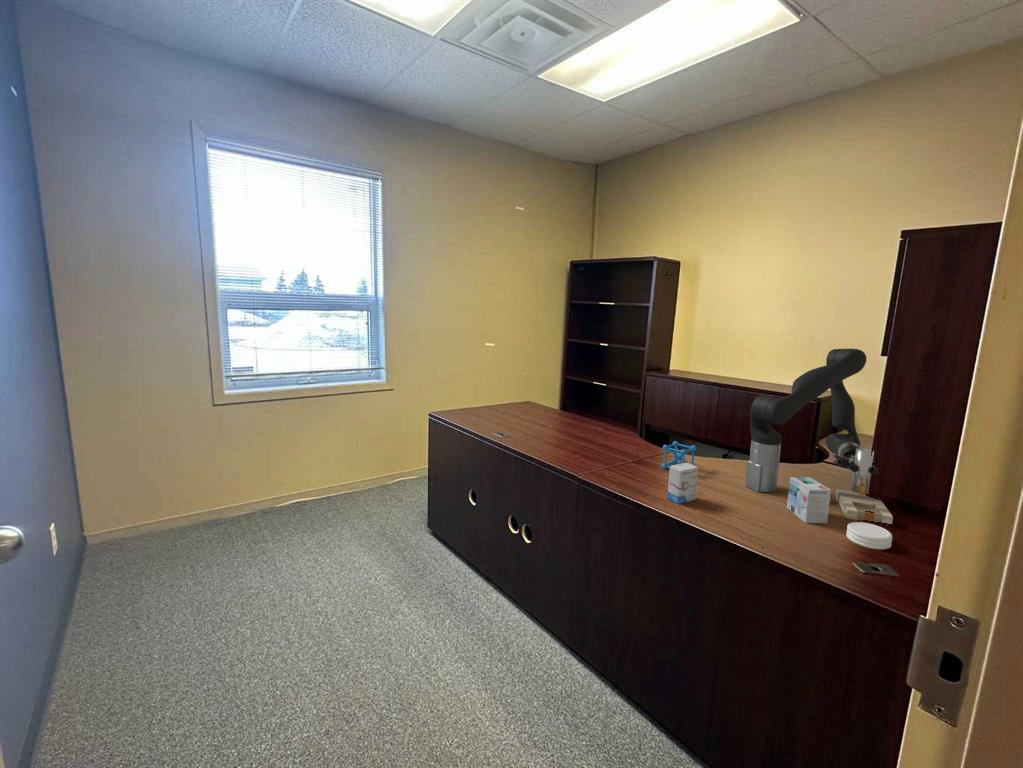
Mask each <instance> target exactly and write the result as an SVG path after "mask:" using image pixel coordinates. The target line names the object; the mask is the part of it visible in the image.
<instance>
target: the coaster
mask: <svg viewBox="0 0 1023 768" xmlns="http://www.w3.org/2000/svg"><path fill="white" fill-rule="evenodd" d="M846 527H847V529H846V534H845V535H846V538H847V539H848V540H849V541H850V542H852V543H854V544H856V545H858V544H859V545H858V546H862V547H864V548H868V549H873V550H887V549H890V548H891V547H892V542H893V534H892V533H891V532H890V531H889V530H887V529H885V528H884V527H881V526H879V525H878V524H874V523H870V522H863V521H856V522H855V521H854V522H850V523H848V524H847V526H846Z"/></svg>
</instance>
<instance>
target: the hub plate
mask: <svg viewBox="0 0 1023 768" xmlns="http://www.w3.org/2000/svg"><path fill="white" fill-rule="evenodd" d="M835 490H836V491H835V499H836V502H837V503H838V505H839V507H840V508H842V509H841V511H842V510H843V511H842V513H843V512H844V513H843V515H844V516H845V518H846V517H847V518H851V519H852V518H853V519H862V520H868V521H874V522H881V523H887V524H892V525H893V520H894V516H893V515H892V513H891V512H890V510H889V509H888V508H887V506H886V505H885V503H884V502H883V501H882V500H881V499H880V500H878V499H874V498H871V497H868V496H866V495H865V494H864V495H859V493H855V492H853V491H851V490H846V489H840V488H836V489H835ZM865 511H871V512H874V513H870V512H865ZM847 518H846V519H847ZM851 519H850V520H851Z"/></svg>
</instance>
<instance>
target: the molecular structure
mask: <svg viewBox="0 0 1023 768" xmlns="http://www.w3.org/2000/svg"><path fill="white" fill-rule="evenodd" d="M672 447H674V448H672ZM678 447H684V448H686V449H679V448H678ZM662 450H664V457H663V463H662V464H661V468H662V469H663V470H666V469H670V467H671V466H672V465H677V464H683V463H689V462H688V461H687V460H685V456H686V455H687V454H688V453H690V452H691V464H692V465H694V466H696V464H694V462H695V461H694V460H695V451H697V446H696V445H694V444H693V445H691V446H690V445H685V444H681V443H679V442H678V441H676V440H675V441H673V442H672V444H669V445H667V444H663V446H662ZM667 451H668V452H670V453H671V454H672V455H673V458H672V460H671V461H669V462H667ZM670 465H671V466H670Z"/></svg>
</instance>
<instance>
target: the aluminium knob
mask: <svg viewBox="0 0 1023 768" xmlns="http://www.w3.org/2000/svg"><path fill="white" fill-rule="evenodd" d="M872 450H873V449H870V448H865V447H862V448H856V455H855V462H854V464H855V465H856V472H853V471H852V478H851V485H850V491H853V492H855V493H859V495H864V494H868V493H869V490H870V489H869V488H870V483H871V477H872V473H871V470H872V463H873V461H874V456H875V451H874V450H873V452H872V454H871V451H872ZM871 455H872V456H871Z"/></svg>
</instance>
